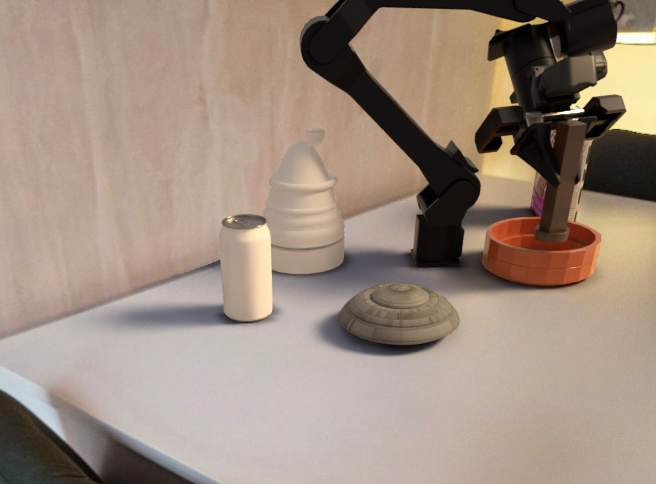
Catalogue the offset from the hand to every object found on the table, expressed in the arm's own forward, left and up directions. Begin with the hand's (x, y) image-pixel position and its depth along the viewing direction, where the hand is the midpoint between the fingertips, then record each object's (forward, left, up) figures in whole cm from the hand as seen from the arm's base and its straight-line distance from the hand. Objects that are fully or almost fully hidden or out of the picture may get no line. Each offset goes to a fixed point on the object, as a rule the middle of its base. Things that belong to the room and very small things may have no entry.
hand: (567, 184), depth 97 cm
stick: (0, +1, -7) cm, 7 cm away
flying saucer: (-22, -11, -14) cm, 29 cm away
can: (-41, -5, -14) cm, 44 cm away
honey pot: (-33, +15, -14) cm, 39 cm away
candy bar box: (+10, +31, -14) cm, 35 cm away
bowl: (+1, +8, -14) cm, 16 cm away
